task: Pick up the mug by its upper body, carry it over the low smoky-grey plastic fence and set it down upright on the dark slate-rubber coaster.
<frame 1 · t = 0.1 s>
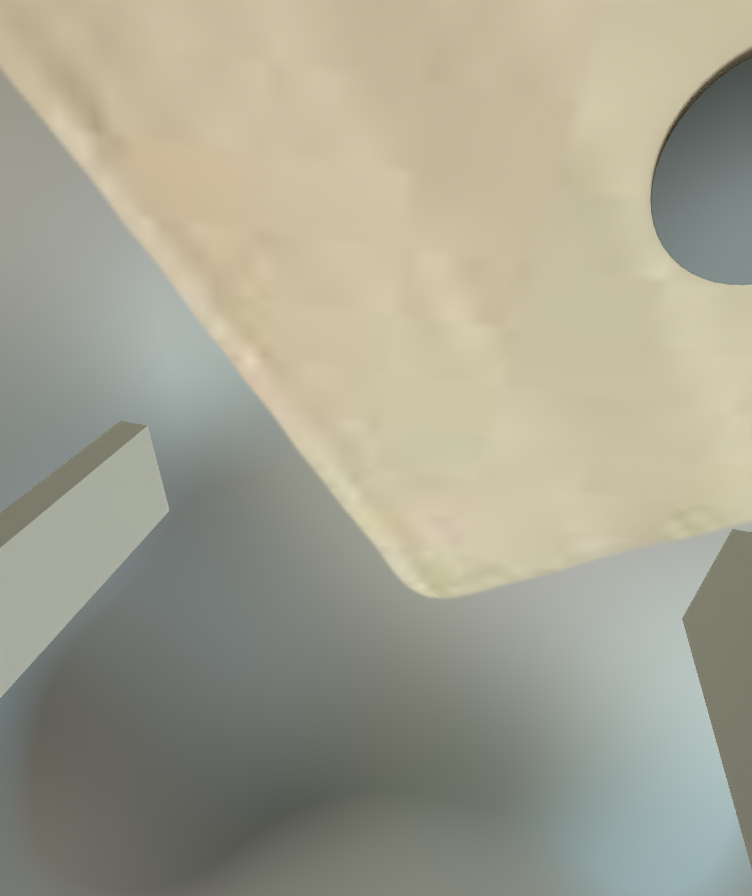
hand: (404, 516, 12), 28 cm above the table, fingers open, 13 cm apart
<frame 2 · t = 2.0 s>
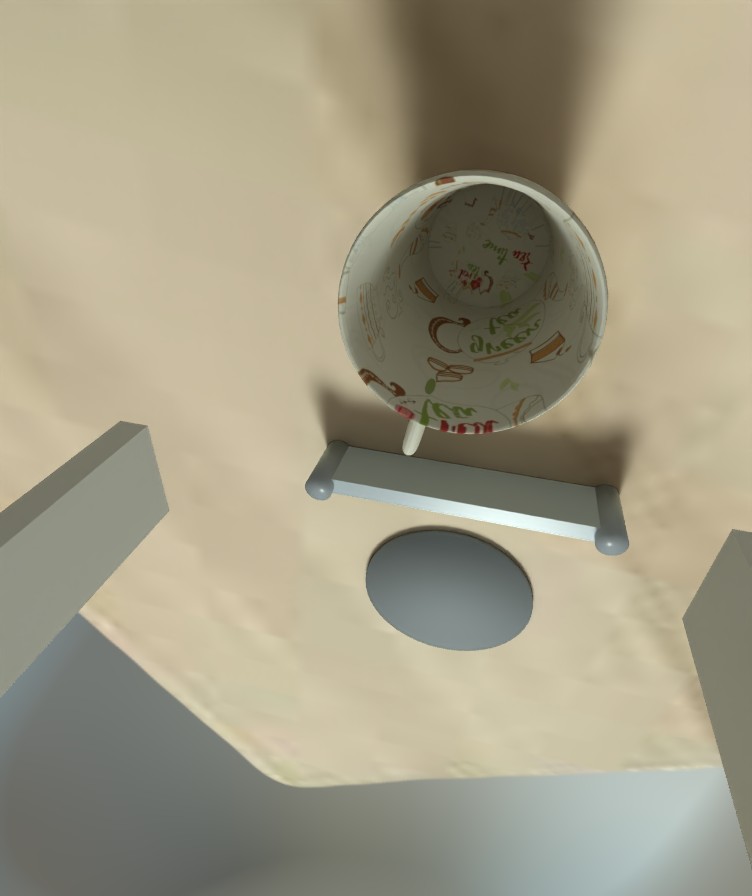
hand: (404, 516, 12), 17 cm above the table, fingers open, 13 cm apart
fence: (465, 472, 31), on the table
coaster: (446, 592, 38), on the table
mug: (473, 289, 26), on the table
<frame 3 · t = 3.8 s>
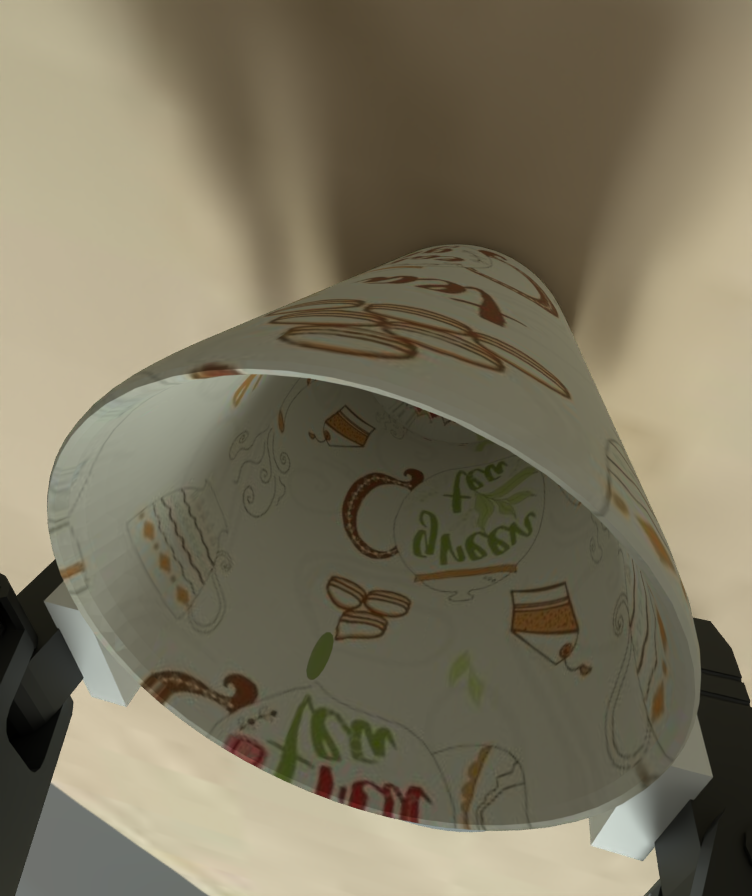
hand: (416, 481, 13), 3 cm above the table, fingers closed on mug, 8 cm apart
mug: (434, 412, 16), on the table, touching gripper
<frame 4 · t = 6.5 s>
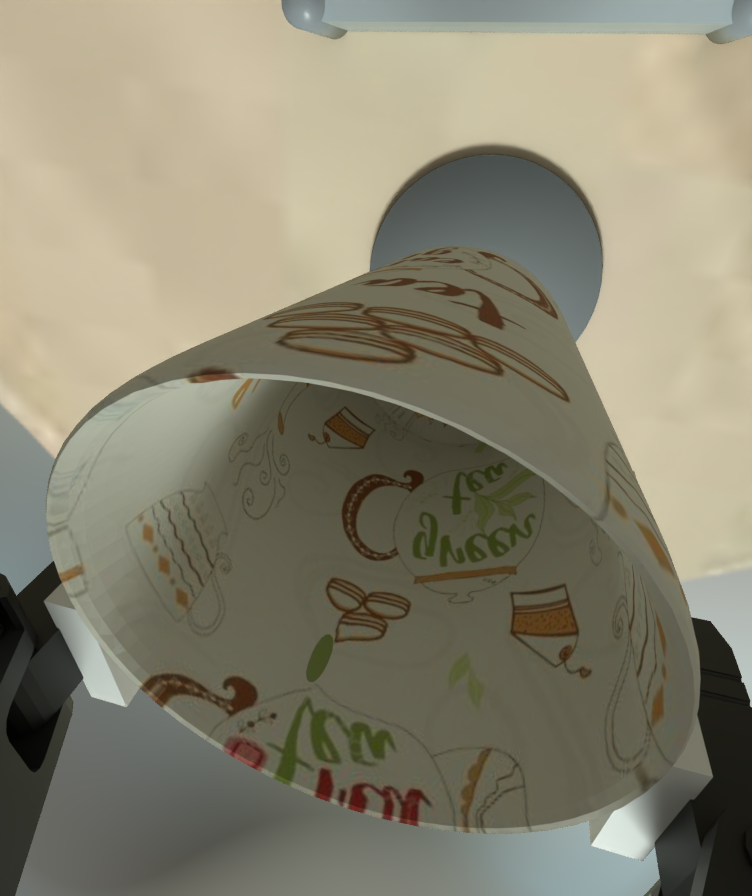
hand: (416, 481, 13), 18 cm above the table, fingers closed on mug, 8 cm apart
fence: (517, 16, 22), on the table
coaster: (479, 283, 28), on the table
mug: (434, 413, 16), point 15 cm above the table, touching gripper
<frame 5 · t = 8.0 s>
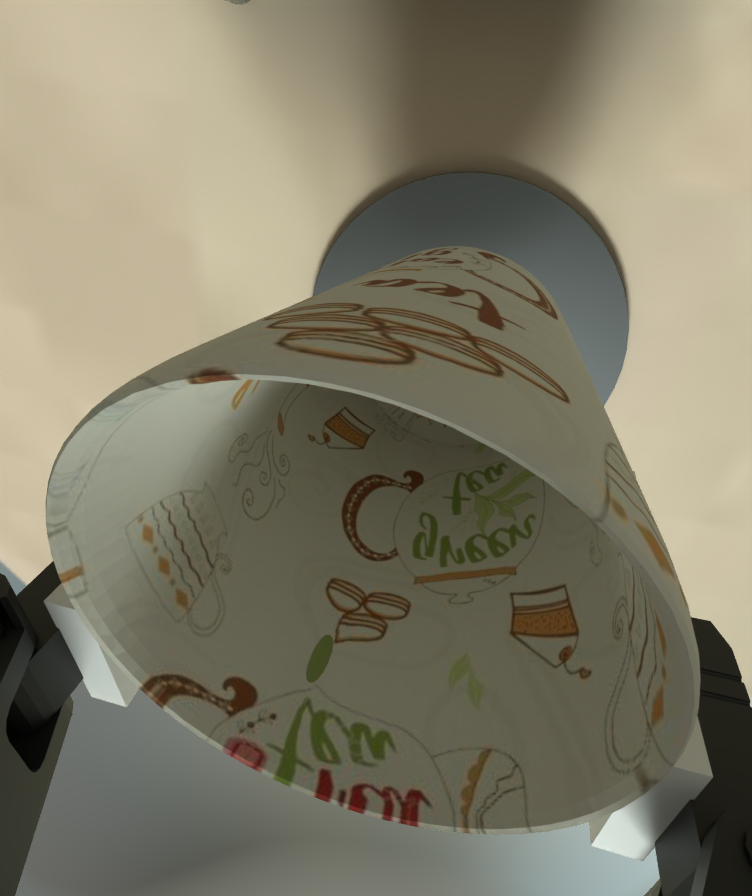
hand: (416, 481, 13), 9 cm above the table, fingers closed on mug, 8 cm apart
coaster: (458, 344, 20), on the table
mug: (434, 413, 16), point 5 cm above the table, touching gripper
when the fingers open (5 cm above the table, at t = 9.2 s): mug drops 2 cm, resting on coaster.
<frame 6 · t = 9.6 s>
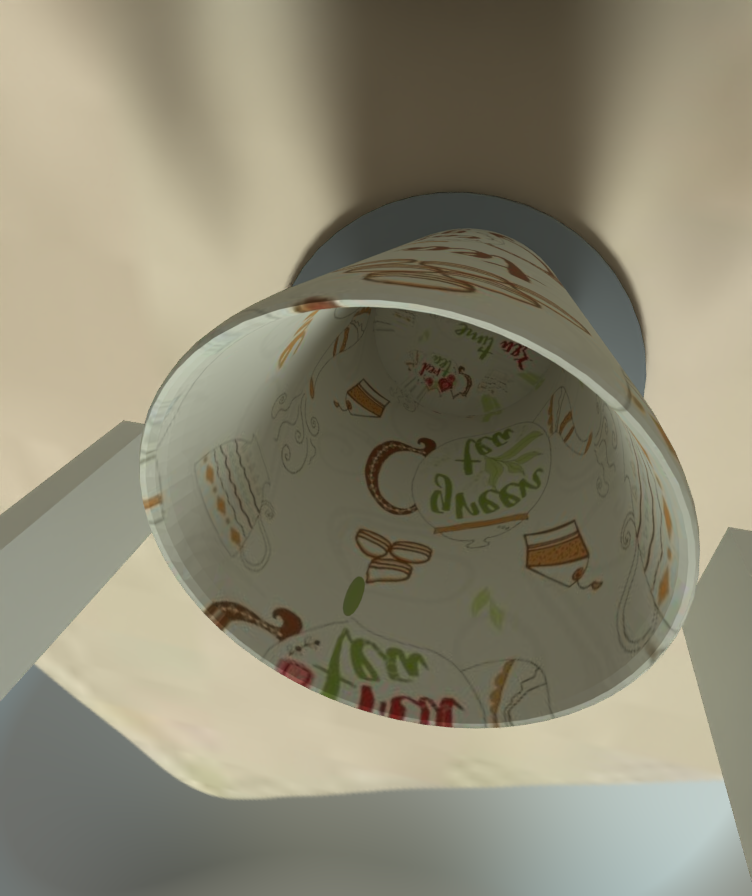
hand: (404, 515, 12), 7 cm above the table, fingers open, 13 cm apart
coaster: (445, 388, 17), on the table
mug: (443, 387, 17), resting on coaster
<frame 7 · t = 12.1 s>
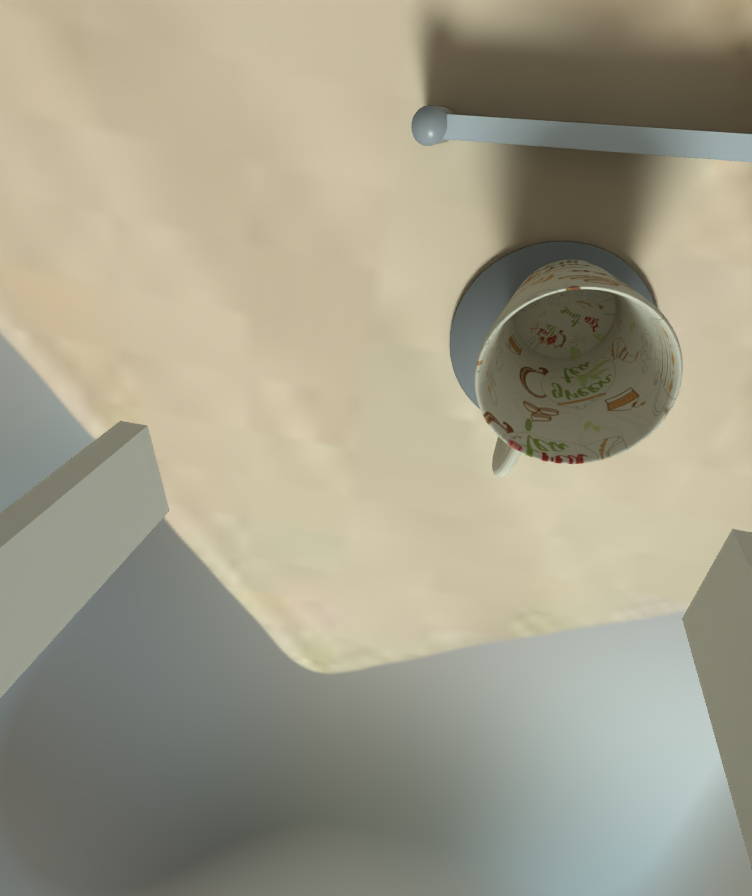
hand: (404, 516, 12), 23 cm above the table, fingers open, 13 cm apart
fence: (600, 136, 26), on the table
coaster: (548, 344, 32), on the table
mug: (547, 343, 32), resting on coaster
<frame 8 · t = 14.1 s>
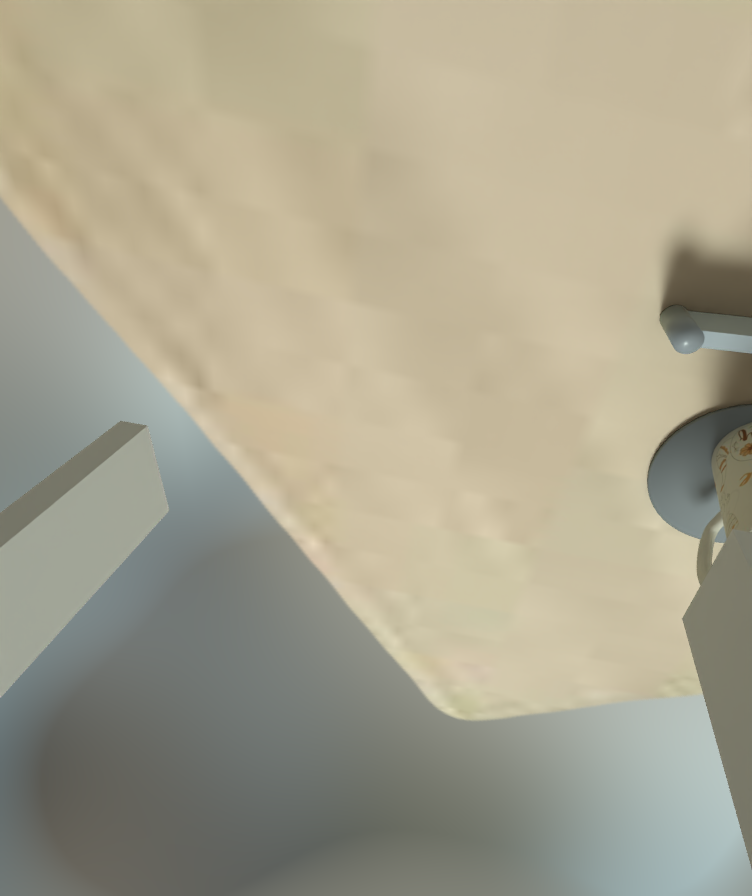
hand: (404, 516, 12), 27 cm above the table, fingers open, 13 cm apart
coaster: (739, 477, 38), on the table
mug: (740, 477, 37), resting on coaster
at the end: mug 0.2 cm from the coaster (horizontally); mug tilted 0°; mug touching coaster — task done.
